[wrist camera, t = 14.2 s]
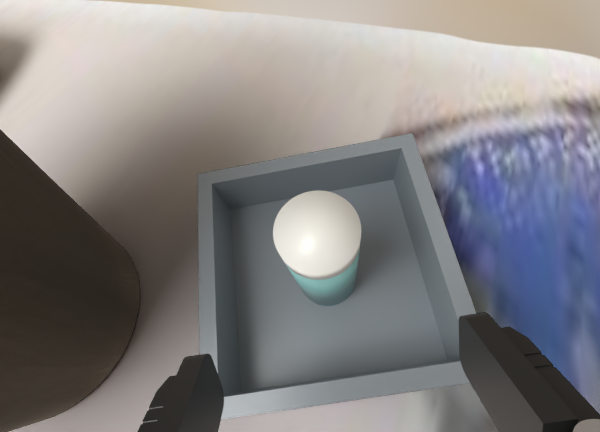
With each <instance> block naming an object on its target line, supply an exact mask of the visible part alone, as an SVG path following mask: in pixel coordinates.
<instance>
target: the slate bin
mask: <svg viewBox="0 0 600 432" xmlns="http://www.w3.org/2000/svg"><path fill="white" fill-rule="evenodd" d="M318 190H320V191H328V192H332V193H335V194H337V195H339V196H341V197H343V198H344V199H346V200H347V201H348V202H349V203H350V204H351V205H352V206H353V207H354V209H355V210H356V212H357V214H358V216H359V219H360V223H361V241H360V249H359V258H358V266H357V275H356V283H355V287H354V289H353V291H352V293H351V294H350V296H349V297H348V298H347V299H346V300H344V301H343V302H341V303H339V304H337V305H333V306H322V305H318V304H316V303H314V302H312V301H311V300H309V299H308V298H307V297H306V296H305V294H304V293H303V291H302V290H301V288H300V287H299V285H298V283H297V282H296V280H295V279H294V277H293V275H292V274H291V272H290V271H289V269H288V267H287V266H286V264H285V263H284V261H283V260H282V258H281V256H280V255H279V253H278V251H277V249H276V247H275V244H274V240H273V227H274V222H275V219H276V217H277V215H278V213H279V211H280V210H281V208H282V207H283V206H284V205H285V204H286V203H287V202H288V201H289V200H291V199H292V198H294V197H295V196H297V195H299V194H302V193H305V192H309V191H318ZM198 264H199V355H201V354H210V355H211V357H212V359H213V362H214V365H215V368H216V370H217V373H218V376H219V379H220V382H221V385H222V388H223V393H224V406H223V412H222V416H221V420H224V419H230V418H237V417H244V416H251V415H257V414H264V413H271V412H278V411H284V410H291V409H298V408H305V407H311V406H318V405H325V404H332V403H338V402H345V401H352V400H359V399H365V398H372V397H379V396H386V395H392V394H399V393H406V392H413V391H419V390H426V389H433V388H440V387H446V386H453V385H460V384H467V383H470V382H469V380H468V378H467V376H466V375H465V373H464V370H463V368H462V365H461V361H460V356H459V317H460V316H463V315H470V314H476V311H475V308H474V305H473V303H472V300H471V297H470V294H469V291H468V289H467V286H466V283H465V280H464V277H463V274H462V272H461V269H460V266H459V263H458V260H457V257H456V255H455V252H454V249H453V246H452V243H451V241H450V238H449V235H448V232H447V229H446V226H445V224H444V221H443V218H442V215H441V212H440V209H439V207H438V204H437V201H436V198H435V195H434V192H433V190H432V187H431V184H430V181H429V178H428V176H427V173H426V170H425V167H424V164H423V161H422V159H421V156H420V153H419V150H418V147H417V144H416V142H415V139H414V136H413V133H411V134H406V135H401V136H395V137H390V138H385V139H379V140H374V141H369V142H364V143H358V144H353V145H348V146H343V147H337V148H332V149H327V150H321V151H316V152H311V153H306V154H300V155H295V156H290V157H284V158H279V159H274V160H269V161H263V162H258V163H253V164H248V165H242V166H237V167H232V168H226V169H221V170H216V171H211V172H205V173H200V174H198Z"/></svg>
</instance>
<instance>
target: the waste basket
mask: <svg viewBox="0 0 600 432" xmlns="http://www.w3.org/2000/svg"><path fill="white" fill-rule="evenodd" d="M139 302H140V287H139V279H138V275H137V271H136V269H135V266H134V263H133V261H132V259H131V257H130V256H129V254H128V253H127V252H126V250H125V249H124V248H123V247H122V246H121V245H120V244H119V243H118V242H117V241H116V240H115V239H114V238H113V237H112V236H111V235H110V234H109V233H108V232H107V231H106V230H105V229H103V228H102V227H101V226H100V225H99V224H98V223H97V222H96V221H95V220H94V219H93V218H92V217H91V216H90V215H89V214H88V213H87V212H85V211H84V210H83V209H82V208H81V207H80V206H79V205H78V204H77V203H76V202H75V201H74V200H73V199H72V198H71V197H70V196H69V195H68V194H67V193H65V192H64V191H63V190H62V189H61V188H60V187H59V186H58V185H57V184H56V183H55V182H54V181H53V180H52V179H51V178H50V177H49V176H48V175H47V174H46V173H45V172H44V171H43V170H42V169H41V168H39V167H38V166H37V165H36V164H35V163H34V162H33V161H32V160H31V159H30V158H29V157H28V156H27V155H26V154H25V153H24V152H23V151H22V150H21V149H20V148H19V147H18V146H17V145H16V144H15V143H14V142H13V141H12V140H11V139H10V138H8V137H7V136H6V135H5V134H4V133H3V132H2V131H1V130H0V432H8V431H11V430H14V429H17V428H20V427H23V426H27V425H30V424H33V423H36V422H39V421H42V420H45V419H47V418H50V417H53V416H56V415H58V414H60V413H62V412H64V411H66V410H67V409H69V408H71V407H72V406H74V405H75V404H77V403H78V402H80V401H81V400H82V399H84V398H85V397H86V396H87V395H89V394H90V393H91V392H92V391H93V390H94V389H95V388H96V387H97V386H98V385H99V384H100V383H101V382H102V381H103V380H104V379H105V378H106V377H107V375H108V374H109V373H110V372H111V371H112V369H113V368H114V366H115V365H116V363H117V362H118V361H119V359H120V358H121V356H122V354H123V352H124V350H125V349H126V346H127V344H128V342H129V340H130V338H131V336H132V332H133V329H134V326H135V323H136V320H137V315H138V310H139Z"/></svg>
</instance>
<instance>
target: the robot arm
mask: <svg viewBox="0 0 600 432" xmlns="http://www.w3.org/2000/svg"><path fill="white" fill-rule="evenodd" d="M459 356H460V361H461V365H462V368H463V370H464V373H465V375H466V376H467V378H468V380H469V382H470V383H471V385H472V387H473V388H474V390H475V392H476V393H477V395H478V397H479V398H480V400H481V402H482V404H483V405H484V407H485V409H486V410H487V412H488V414H489V415H490V417H491V419H492V420H493V422H494V424H495V425H496V427H497V429H498V430H499V432H600V414H599V413H598V412H597V411H596V410H595V409H594V408H593V407H592V406H591V405H590V404H589V403H588V402H587V401H586V399H585V398H584V397H583V396H582V395H581V394H580V393H579V392H578V391H577V390H576V389H575V388H574V387H573V386H572V384H571V383H570V382H569V381H568V380H567V379H566V378H565V377H564V376H563V375H562V374H561V373H560V372H559V371H558V370H557V368H556V367H555V368H554V367H553V364H552V363H551V362H550V361H549V360H548V359H547V358H546V357H545V356H544V355H542V354H541V351H540V350H539V349H538V348H537V347H536V346H535V345H534V344H533V343H532V342H531V341H530V340H529V339H528V338H527V337H526V336H524V335H522V334H521V333H519V332H517V331H516V330H514V329H512V328H511V327H505V328H500V327H499V326H498V324H497V323H496V322H495V321H494V320H493V319H492V317H491V316H490V315H489V314H488V313H486V312H483V313H476V314H470V315H463V316H460V317H459ZM223 406H224V393H223V388H222V385H221V382H220V379H219V376H218V373H217V370H216V368H215V365H214V362H213V359H212V357H211V355H210V354H201V355H195V356H188V357H185V358H184V359H183V361H182V364H181V366H180V368H179V371H178V373H177V375H176V376H170V377H169V378H168V379H167V380H166V381H165V382H164V383H163V385H162V386H161V387H160V388H159V389H158V390H157V392H156V394H155V396H154V398H153V400H152V402H151V405H150V407H149V411H147V413H146V415H145V417H144V419H143V424H142V425H141V426H140V428H139V430H138V432H218V429H219V424H220V420H221V416H222V412H223Z"/></svg>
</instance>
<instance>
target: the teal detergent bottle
mask: <svg viewBox="0 0 600 432" xmlns="http://www.w3.org/2000/svg"><path fill="white" fill-rule="evenodd" d="M273 240H274V244H275V247H276V249H277V251H278V253H279V255H280V256H281V258H282V260H283V261H284V263H285V264H286V266H287V267H288V269H289V271H290V272H291V274H292V275H293V277H294V279H295V280H296V282H297V283H298V285H299V287H300V288H301V290H302V291H303V293H304V294H305V296H306V297H307V298H308V299H309V300H311V301H312V302H314V303H316V304H318V305H322V306H333V305H337V304H339V303H341V302H343V301H344V300H346V299H347V298H348V297H349V296H350V294H351V293H352V291H353V289H354V287H355V283H356V275H357V266H358V258H359V249H360V241H361V223H360V219H359V216H358V214H357V212H356V210H355V209H354V207H353V206H352V205H351V204H350V203H349V202H348V201H347V200H346V199H344V198H343V197H341V196H339V195H337V194H335V193H332V192H328V191H320V190H318V191H309V192H305V193H302V194H299V195H297V196H295V197H294V198H292V199H291V200H289V201H288V202H287V203H286V204H285V205H284V206H283V207H282V208H281V210H280V211H279V213H278V215H277V217H276V219H275V222H274V227H273Z"/></svg>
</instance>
